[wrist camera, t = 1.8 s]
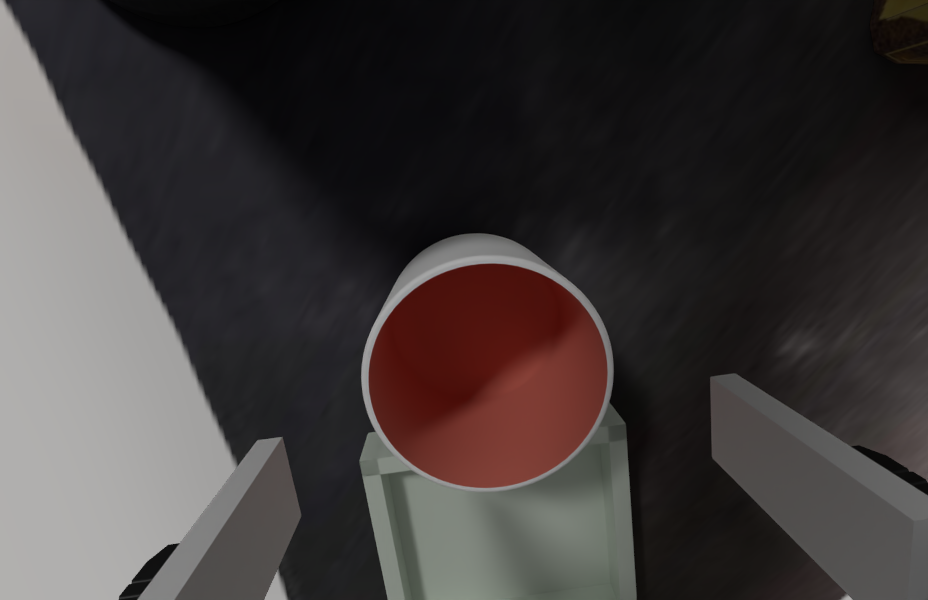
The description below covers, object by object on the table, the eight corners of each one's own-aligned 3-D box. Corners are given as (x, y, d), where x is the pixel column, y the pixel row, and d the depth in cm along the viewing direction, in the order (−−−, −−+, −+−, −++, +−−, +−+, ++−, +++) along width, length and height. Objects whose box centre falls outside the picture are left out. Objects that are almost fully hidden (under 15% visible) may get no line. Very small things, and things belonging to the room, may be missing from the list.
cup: (556, 224, 28) (615, 245, 18) (560, 387, 30) (614, 483, 20) (380, 237, 28) (345, 265, 18) (398, 400, 30) (375, 504, 20)
